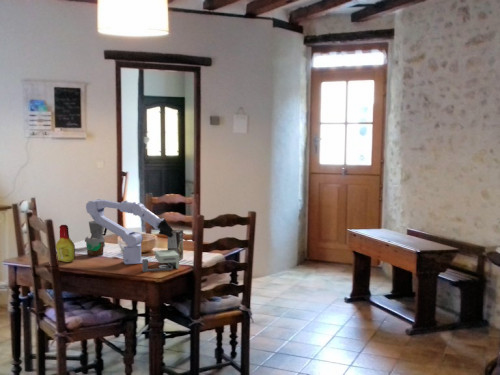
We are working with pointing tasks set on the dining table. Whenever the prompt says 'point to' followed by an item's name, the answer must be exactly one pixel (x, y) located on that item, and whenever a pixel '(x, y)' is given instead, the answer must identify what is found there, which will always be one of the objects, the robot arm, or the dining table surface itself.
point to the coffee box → (176, 243)
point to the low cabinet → (168, 257)
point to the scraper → (145, 269)
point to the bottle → (65, 246)
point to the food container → (94, 246)
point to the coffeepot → (97, 230)
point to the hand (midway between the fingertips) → (172, 233)
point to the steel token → (163, 266)
